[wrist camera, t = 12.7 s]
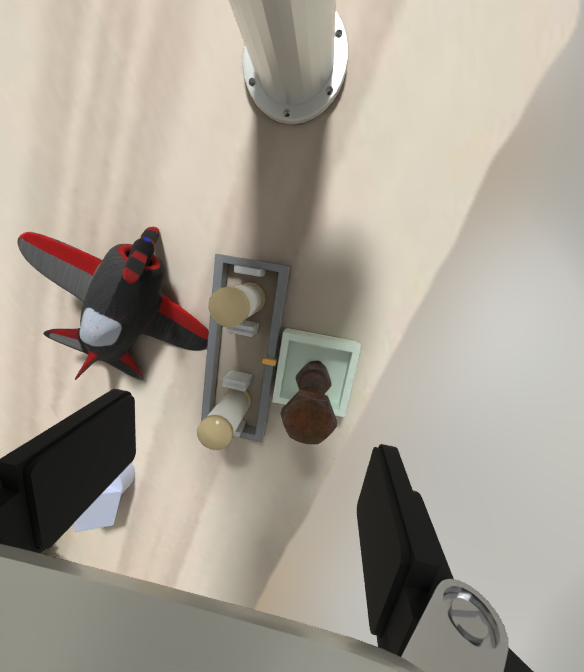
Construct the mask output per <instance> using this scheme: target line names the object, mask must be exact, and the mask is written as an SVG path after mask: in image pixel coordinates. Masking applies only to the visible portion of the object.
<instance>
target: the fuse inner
mask: <svg viewBox="0 0 584 672" xmlns="http://www.w3.org/2000/svg"><path fill="white" fill-rule="evenodd" d="M265 301H266V296H265V292H264V290H263V289H262V288H261V287H260V286H259V285H258V284H256V283H252V282H248V283H243V284H241V285H237V286H232V287H223V288H220V289H218V290H216V291H215V292H214V293H213V294H212V295H211V297H210V300H209V312H210V314H211V316H212V318H213V319H214V320H215V321H216V322H217V323H218V324H220V325H222V326H225V327H234V326H237V325H239V324H240V323H242V322H243V321H244V320H245V319H246V318H248V317H249V316H251V315H252V314H254V313H257V312H258V311H260V310H261V309H262V308H263V306H264V305H265Z"/></svg>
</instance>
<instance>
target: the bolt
mask: <svg viewBox="0 0 584 672" xmlns="http://www.w3.org/2000/svg"><path fill="white" fill-rule="evenodd" d="M295 379H296V382H297V385H298V388H299V391H298V392H297V393H296V394H295V395H294V396H293V397H292V398H291V399H290V401H289V402H288V403H287V404H286V405H285V406H284V407H283V408H282V410H281V417H282V421H283V424H284V427H285V429H286V431H287V433H288V435H289V437H290V438H292V439H294V440H296V441H298V442H301V443H305V444H319V443H321V442H322V441H324V440H325V439H326V438H327V437H328V436H329V435H330V434H331V433H332V432H333V431H334V429H335V428H336V427H337V420H336V417H335V414H334V411H333V409H332V406H331V403H330V400H329V397H328V396H327V395H325V393H326V392H327V391H328V390H329V389H330V387H331V386H332V382H331V379H330V376H329V373H328V370H327V368H326V366H325V365H324V364H322V362H321V361H318V360H317V361H311V362H309V363H307V364H306V365H305V366H304V367H303V368H302V369H301V370H300V371H299V372H298V373H297V375H296V378H295Z"/></svg>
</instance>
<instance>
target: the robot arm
mask: <svg viewBox="0 0 584 672" xmlns="http://www.w3.org/2000/svg"><path fill="white" fill-rule="evenodd" d="M229 3H230V6H231V8H232V11H233V14H234V16H235V19H236V22H237V24H238V27H239V30H240V32H241V35H242V38H243V40H244V43H245V44H244V50H243V73H244V79H245V82H246V85H247V89H248V91H249V93H250V95H251V97H252V99H253V101H254V102H255V104H256V105H257V107H258V108H259V109H260V110H261V111H262V112H263V113H264V114H265V115H267V116H268V117H269V118H271V119H273V120H275V121H277V122H280V123H285V124H300V123H304V122H308V121H310V120H312V119H314V118H316V117H317V116H319V115H320V114H321V113H323V112H324V111H325V110H326V109H327V108H328V107H329V106H330V105H331V104H332V102H333V101H334V99H335V98H336V96H337V95H338V93H339V91H340V89H341V86H342V84H343V82H344V78H345V74H346V70H347V62H348V41H347V35H346V31H345V28H344V25H343V22H342V20H341V19H340V17H339V15H338V13H337V12H336V0H229ZM253 85H254V86H253ZM329 93H330V94H331V95H328V94H329ZM287 115H289V116H288V117H286V116H287ZM135 454H136V437H135V400H134V397H133V396H132V395H131V393H130V392H128V391H123V390H119V389H113V390H111V391H109V392H107V393H106V394H104V395H102V396H101V397H99V398H98V399H96V400H94V401H93V402H91V403H90V404H88V405H86V406H85V407H83V408H81V409H80V410H78V411H77V412H75V413H73V414H72V415H70V416H69V417H67V418H65V419H64V420H62V421H60V422H59V423H57V424H56V425H54V426H52V427H51V428H49V429H48V430H46V431H44V432H43V433H41V434H39V435H38V436H36V437H35V438H33V439H31V440H30V441H28V442H27V443H25V444H23V445H22V446H20V447H18V448H17V449H15V450H14V451H12V452H10V453H9V454H7V455H6V456H4V457H2V458H1V459H0V672H533V671H532V670H531V669H530V668H529V667H528V666H527V665H526V664H525V663H524V662H523V661H522V660H521V659H520V658H519V657H518V656H517V655H516V654H515V653H514V652H513V651H512V650H511V649H510V648H509V647H508V637H507V633H506V630H505V626H504V624H503V623H502V621H501V619H500V617H499V615H498V613H497V612H496V611H495V609H494V608H493V607H492V606H491V604H490V603H489V602H488V601H487V600H486V599H485V598H484V597H483V596H482V595H481V594H480V593H479V592H478V591H476V590H475V589H474V588H472V587H471V586H469V585H468V584H466V583H463V582H461V581H459V580H454V579H453V576H452V574H451V571H450V568H449V566H448V563H447V561H446V558H445V555H444V553H443V550H442V548H441V545H440V543H439V540H438V537H437V535H436V532H435V530H434V527H433V525H432V522H431V520H430V517H429V514H428V512H427V509H426V507H425V504H424V501H423V499H422V497H421V495H420V494H419V493H418V492H416V491H413V490H412V487H411V485H410V482H409V479H408V476H407V473H406V471H405V468H404V465H403V462H402V460H401V457H400V454H399V451H398V449H397V448H396V447H393V446H388V445H382V444H381V445H379V447H378V448H377V447H374V449H373V451H372V455H371V459H370V461H369V465H368V468H367V472H366V476H365V479H364V482H363V486H362V490H361V493H360V496H359V500H358V504H357V519H358V529H359V537H360V546H361V555H362V564H363V573H364V581H365V591H366V600H367V608H368V618H369V626H370V631H371V633H372V634H373V635H377V642H378V647H376V646H374V645H371V644H368V643H365V642H362V641H360V640H357V639H354V638H351V637H348V636H344V635H341V634H337V633H334V632H331V631H327V630H324V629H320V628H317V627H313V626H310V625H307V624H303V623H300V622H296V621H293V620H289V619H286V618H282V617H278V616H275V615H271V614H267V613H264V612H260V611H256V610H253V609H249V608H245V607H242V606H238V605H234V604H230V603H227V602H223V601H219V600H216V599H212V598H208V597H205V596H201V595H197V594H193V593H189V592H186V591H182V590H178V589H174V588H171V587H167V586H163V585H159V584H155V583H152V582H148V581H144V580H140V579H136V578H132V577H129V576H125V575H121V574H117V573H113V572H110V571H106V570H102V569H98V568H94V567H90V566H86V565H82V564H79V563H75V562H71V561H67V560H63V559H59V558H55V557H51V556H47V555H43V554H40V553H41V552H42V551H43V550H44V549H47V548H49V547H51V546H52V545H53V544H54V543H55V542H56V541H57V540H58V539H59V538H60V537H61V536H62V535H63V534H64V533H65V532H66V531H67V530H68V529H69V528H70V527H71V526H72V525H73V523H74V522H75V521H76V520H77V519H78V518H79V517H80V516H81V515H82V514H83V513H84V512H85V511H86V510H87V509H88V508H89V507H90V506H91V505H92V504H93V502H94V501H95V500H96V499H97V498H98V497H99V496H100V495H101V494H102V493H103V492H104V491H105V490H106V489H107V488H108V487H109V486H110V485H111V484H112V482H113V481H114V480H115V479H116V478H117V477H118V476H119V475H120V474H121V473H122V472H123V471H124V470H125V469H126V468H127V467H128V466H129V465H130V464H131V462H132V461H133V459H134V457H135Z"/></svg>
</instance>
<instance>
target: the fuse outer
mask: <svg viewBox="0 0 584 672" xmlns="http://www.w3.org/2000/svg"><path fill="white" fill-rule="evenodd" d="M251 403H252V398H251V395H250V393H249V392H248V391H247V390H246V391H240V390H236V389H231V388H230V389H229V390H228V391H227V392H226V393H225V394H224V396H223V398H222V399H221V400H220V401H219V403H218V404H217V405H216V406H215V407H214V409H213V410H212V411H211V412H210V413H209V415H208V416H207V417H206V418H204V419H203V421H202V422H201V423H200V424H199V426H198V429H197V436H198V438H199V440H200V442H201V443H202V444H203V445H204V446H205V447H207V448H209V449H212V450H221V449H224V448H225V447H227V446H228V444H229V443H230V441H231V439H232V437H233V434H234V433H235V431H236V429H237V427H238V426H239V424H240V422H241V420H242V419H243V417H244V415H245V414H246V412H247V411H248V410H249V408H250V406H251Z"/></svg>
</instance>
